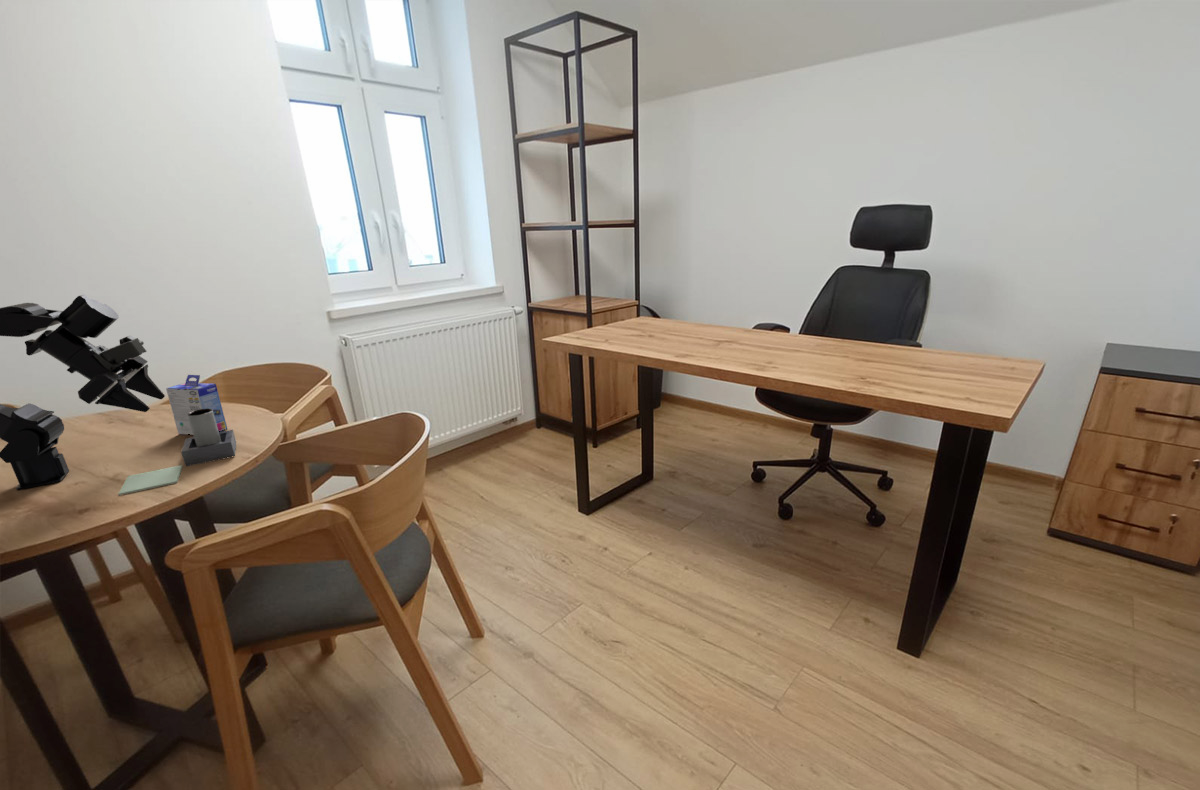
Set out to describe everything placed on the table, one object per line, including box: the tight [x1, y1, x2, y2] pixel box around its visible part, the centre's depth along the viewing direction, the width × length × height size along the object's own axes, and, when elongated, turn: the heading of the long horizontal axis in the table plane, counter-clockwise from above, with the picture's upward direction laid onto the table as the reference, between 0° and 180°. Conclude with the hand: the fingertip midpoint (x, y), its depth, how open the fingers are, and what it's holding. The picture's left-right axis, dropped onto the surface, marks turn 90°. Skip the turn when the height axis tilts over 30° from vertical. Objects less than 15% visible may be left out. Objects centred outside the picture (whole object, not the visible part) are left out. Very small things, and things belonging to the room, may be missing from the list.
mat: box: [117, 464, 184, 496], centre depth 107 cm, size 9×9×1 cm
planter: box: [188, 409, 222, 447], centre depth 117 cm, size 4×4×10 cm
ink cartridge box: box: [165, 374, 228, 436], centre depth 130 cm, size 10×6×14 cm, turn 78°
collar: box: [180, 429, 237, 467], centre depth 118 cm, size 9×9×4 cm
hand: (155, 403), depth 112 cm, fingers open, 9 cm apart
